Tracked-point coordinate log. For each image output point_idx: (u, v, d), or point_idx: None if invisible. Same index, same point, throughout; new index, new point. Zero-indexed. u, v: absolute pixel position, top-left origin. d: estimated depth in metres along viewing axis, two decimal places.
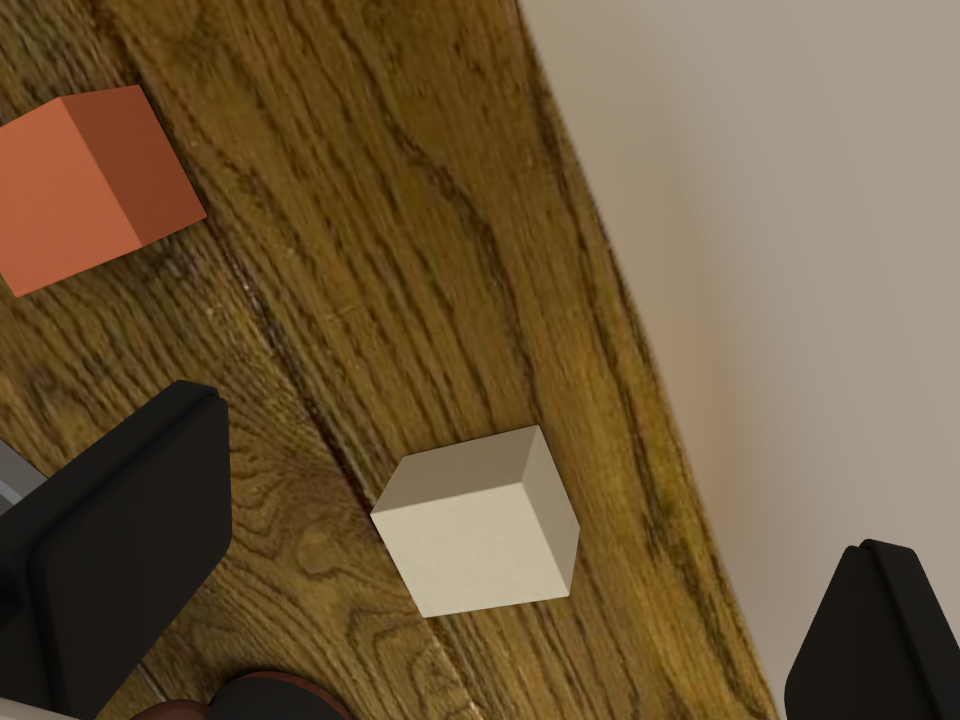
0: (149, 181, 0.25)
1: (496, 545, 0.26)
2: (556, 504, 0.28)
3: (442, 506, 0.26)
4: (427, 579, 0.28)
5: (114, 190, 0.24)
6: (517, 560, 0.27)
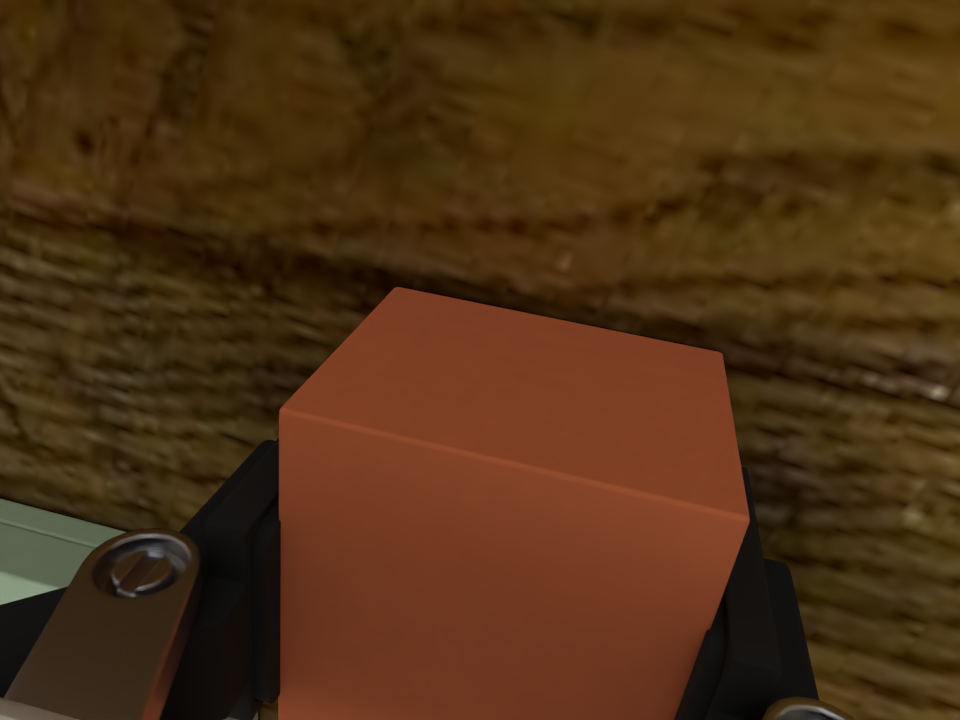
0: (583, 389, 0.09)
1: None
2: None
3: None
4: None
5: (560, 467, 0.08)
6: None
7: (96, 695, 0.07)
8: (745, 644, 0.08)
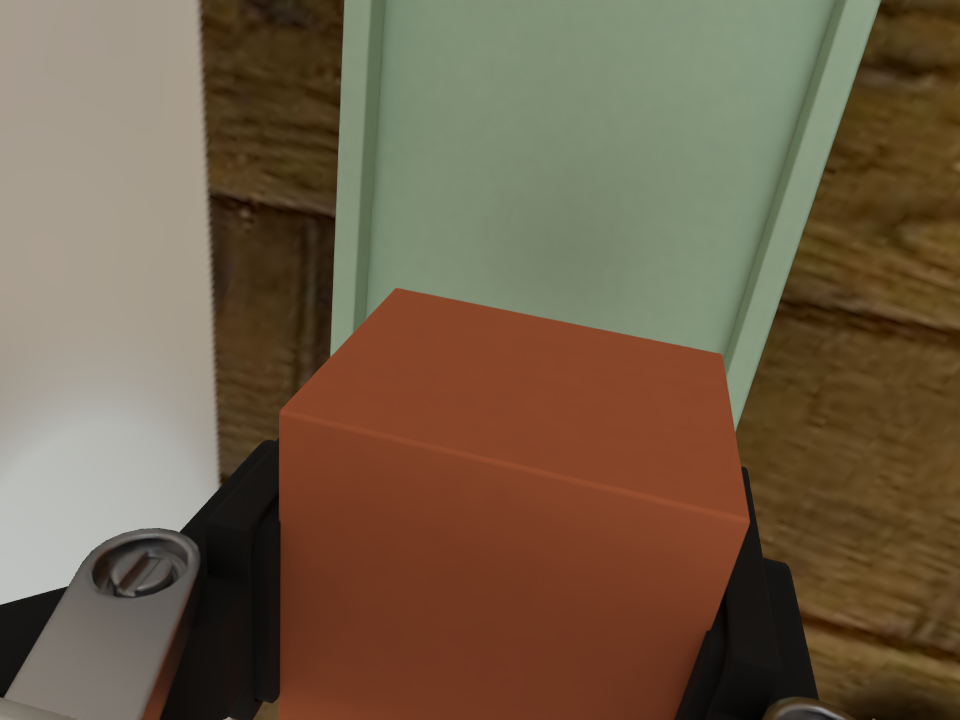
0: (583, 391, 0.09)
1: None
2: None
3: None
4: None
5: (560, 468, 0.08)
6: None
7: (96, 695, 0.07)
8: (745, 644, 0.08)
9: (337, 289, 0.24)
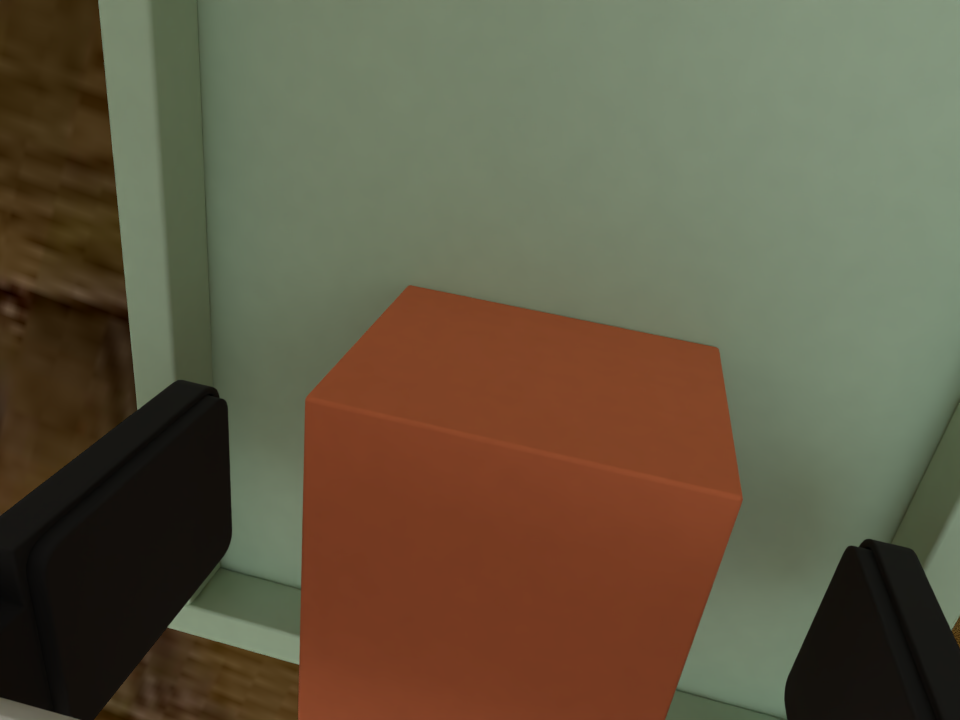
0: (587, 381, 0.10)
1: None
2: None
3: None
4: None
5: (568, 451, 0.08)
6: None
7: None
8: None
9: None
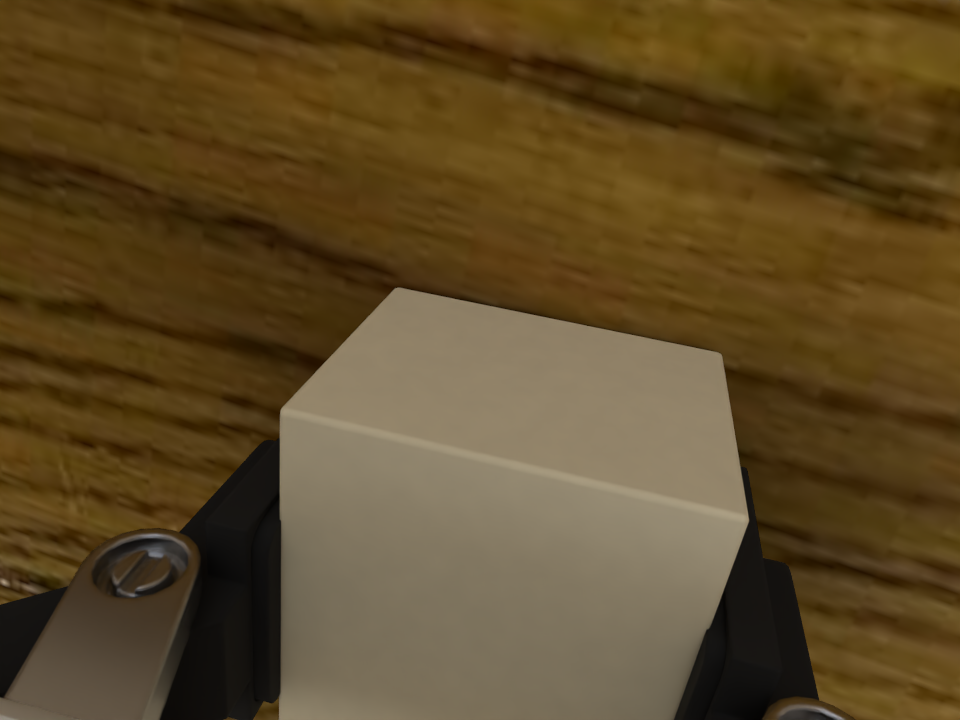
0: None
1: (463, 588, 0.08)
2: (549, 366, 0.10)
3: (296, 625, 0.09)
4: None
5: None
6: (539, 573, 0.08)
7: (96, 695, 0.07)
8: (746, 644, 0.08)
9: None
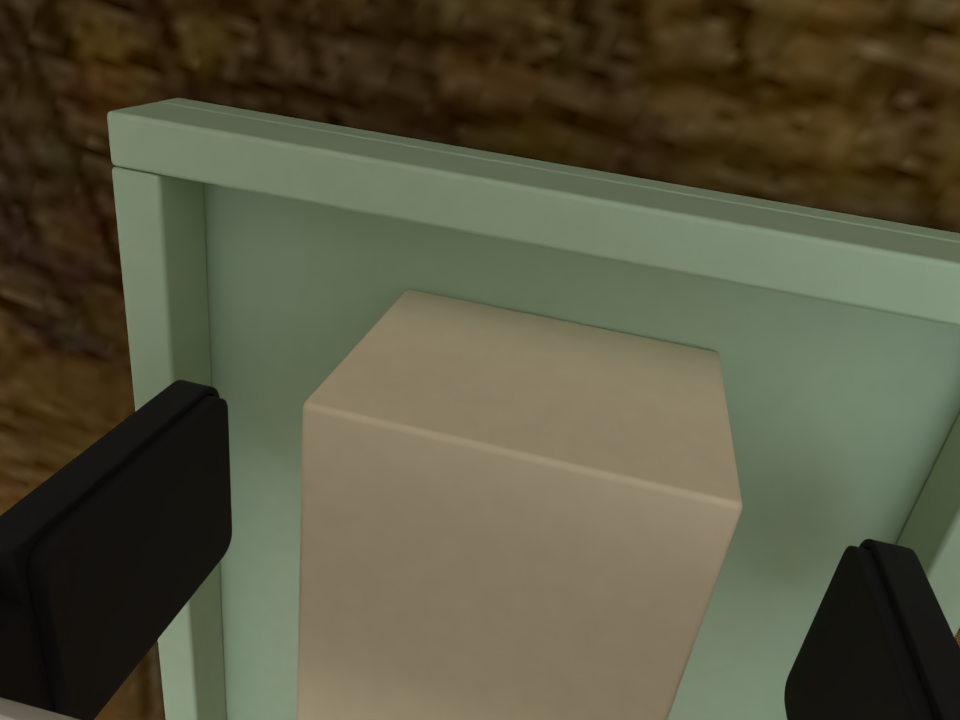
0: None
1: (474, 572, 0.09)
2: (554, 364, 0.10)
3: (316, 608, 0.10)
4: None
5: None
6: (546, 557, 0.09)
7: None
8: None
9: (171, 719, 0.16)
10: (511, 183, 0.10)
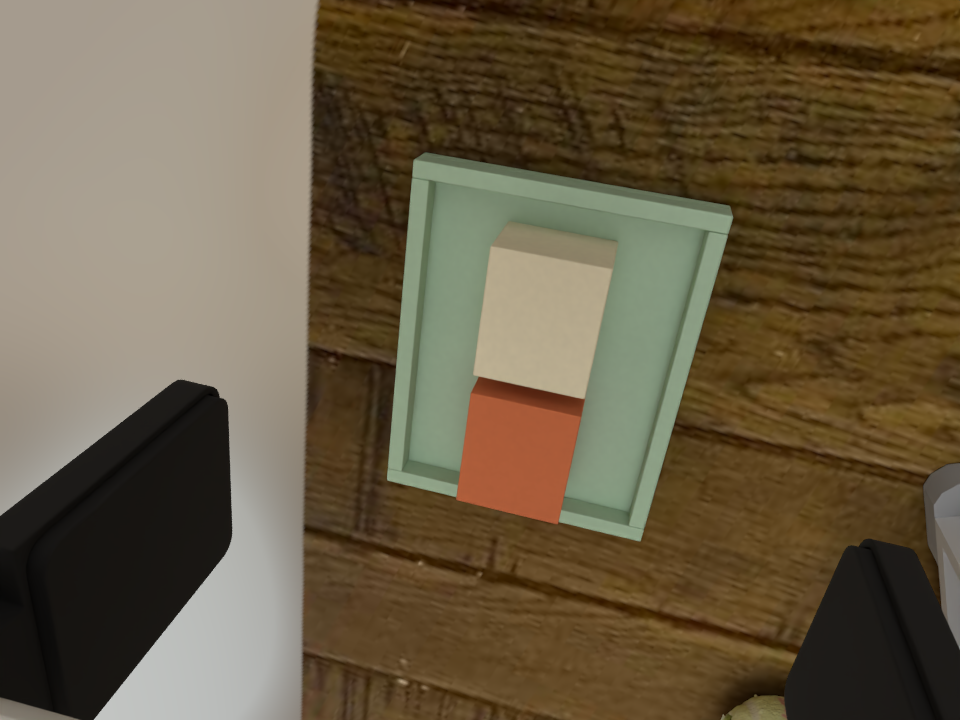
0: None
1: (538, 298, 0.31)
2: (561, 241, 0.32)
3: (486, 317, 0.31)
4: (548, 371, 0.32)
5: (538, 406, 0.33)
6: (559, 290, 0.30)
7: None
8: None
9: (395, 414, 0.38)
10: (548, 183, 0.31)
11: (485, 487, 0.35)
